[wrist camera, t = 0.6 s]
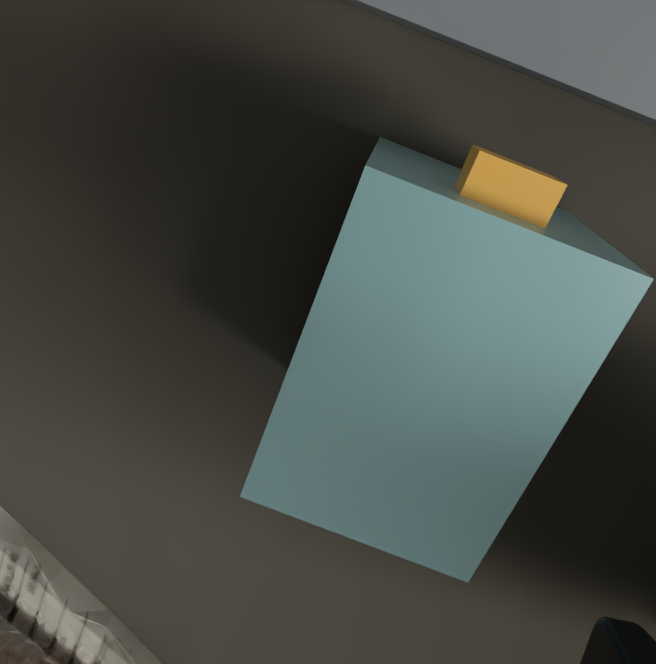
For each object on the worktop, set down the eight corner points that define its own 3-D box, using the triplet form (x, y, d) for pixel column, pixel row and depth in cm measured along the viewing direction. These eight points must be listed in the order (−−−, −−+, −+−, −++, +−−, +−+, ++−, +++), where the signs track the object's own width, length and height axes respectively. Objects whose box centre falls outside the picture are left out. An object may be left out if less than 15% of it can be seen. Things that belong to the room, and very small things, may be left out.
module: (580, 179, 15) (681, 233, 10) (449, 431, 18) (468, 582, 13) (392, 104, 15) (384, 115, 10) (290, 370, 18) (239, 496, 12)
